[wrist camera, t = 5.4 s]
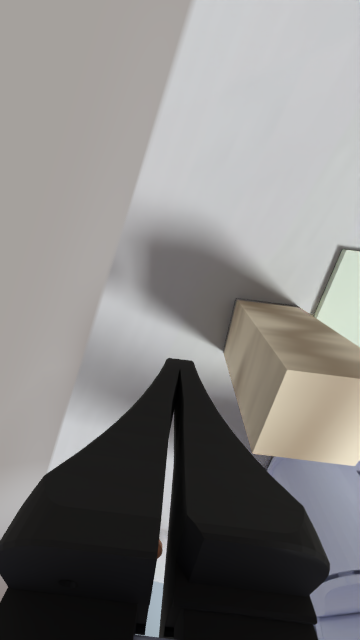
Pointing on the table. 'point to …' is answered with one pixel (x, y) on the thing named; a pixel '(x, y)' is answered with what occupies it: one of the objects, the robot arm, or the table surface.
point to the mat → (343, 298)
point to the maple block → (294, 383)
